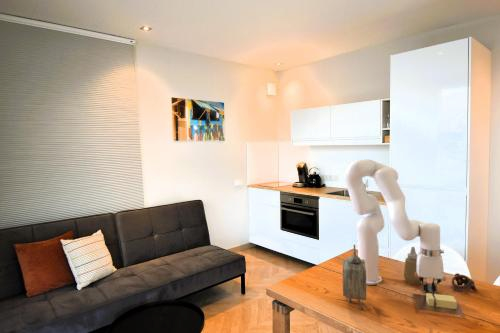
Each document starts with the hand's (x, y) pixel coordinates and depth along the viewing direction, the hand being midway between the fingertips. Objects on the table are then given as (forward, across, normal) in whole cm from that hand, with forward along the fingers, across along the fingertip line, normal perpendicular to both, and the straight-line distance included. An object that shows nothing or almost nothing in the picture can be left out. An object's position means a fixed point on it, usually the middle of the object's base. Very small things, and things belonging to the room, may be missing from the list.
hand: (429, 292), depth 135 cm
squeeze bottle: (+2, +5, -11) cm, 12 cm away
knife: (+1, 0, +4) cm, 4 cm away
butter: (+1, -4, +9) cm, 10 cm away
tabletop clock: (+2, +31, +15) cm, 35 cm away
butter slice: (+1, +1, +9) cm, 9 cm away
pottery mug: (+2, -15, -10) cm, 18 cm away
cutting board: (+2, -1, +9) cm, 9 cm away
